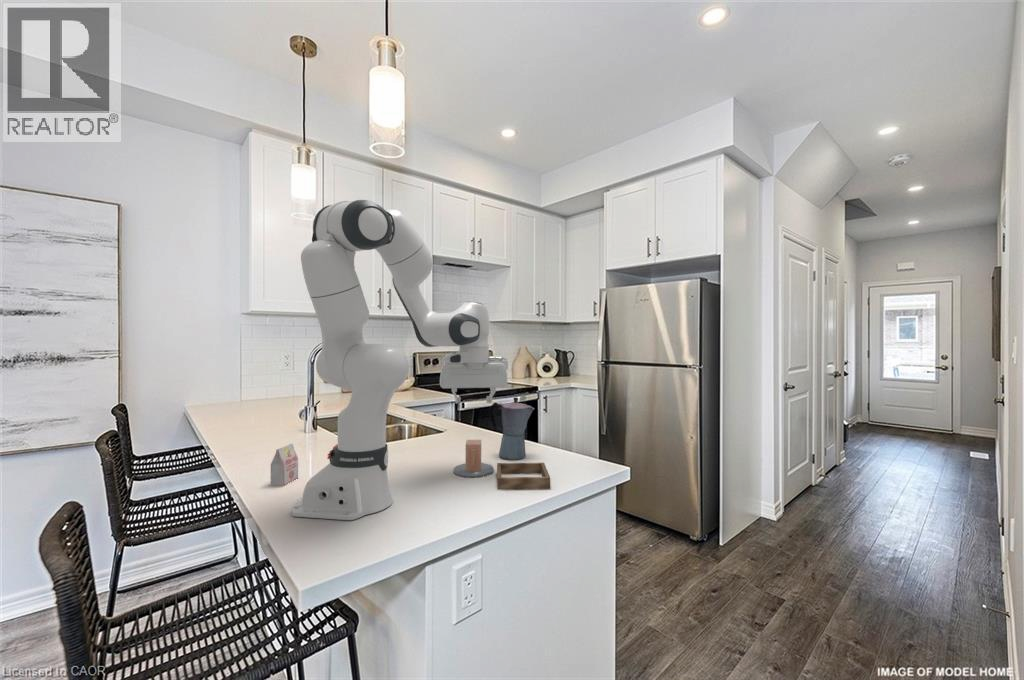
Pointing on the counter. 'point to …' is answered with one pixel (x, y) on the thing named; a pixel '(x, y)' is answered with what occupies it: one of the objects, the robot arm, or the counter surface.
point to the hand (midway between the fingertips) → (473, 402)
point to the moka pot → (512, 428)
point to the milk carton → (284, 466)
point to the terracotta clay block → (473, 456)
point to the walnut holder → (522, 481)
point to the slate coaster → (461, 471)
